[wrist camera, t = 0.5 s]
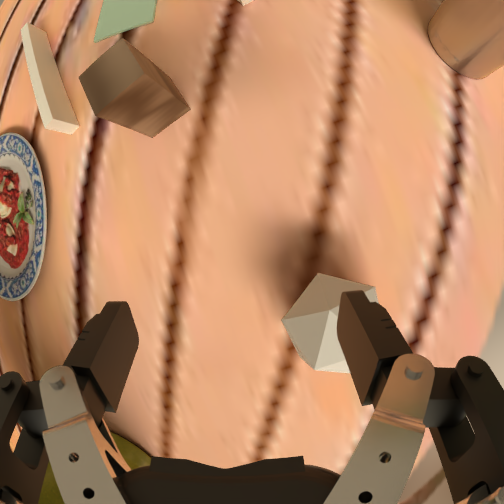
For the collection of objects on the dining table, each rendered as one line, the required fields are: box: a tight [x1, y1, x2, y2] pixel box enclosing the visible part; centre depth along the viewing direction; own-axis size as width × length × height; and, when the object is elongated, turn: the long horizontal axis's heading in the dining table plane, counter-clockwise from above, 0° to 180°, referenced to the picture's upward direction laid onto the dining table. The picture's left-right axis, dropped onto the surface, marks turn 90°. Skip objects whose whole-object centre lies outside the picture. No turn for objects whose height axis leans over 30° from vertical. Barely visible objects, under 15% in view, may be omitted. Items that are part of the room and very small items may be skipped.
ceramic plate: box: [0, 133, 47, 301], centre depth 33 cm, size 26×26×3 cm
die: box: [282, 273, 379, 373], centre depth 25 cm, size 8×9×10 cm
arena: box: [21, 0, 254, 135], centre depth 24 cm, size 27×24×5 cm
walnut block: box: [79, 38, 191, 138], centre depth 23 cm, size 5×5×10 cm
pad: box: [94, 0, 157, 43], centre depth 26 cm, size 9×9×1 cm
